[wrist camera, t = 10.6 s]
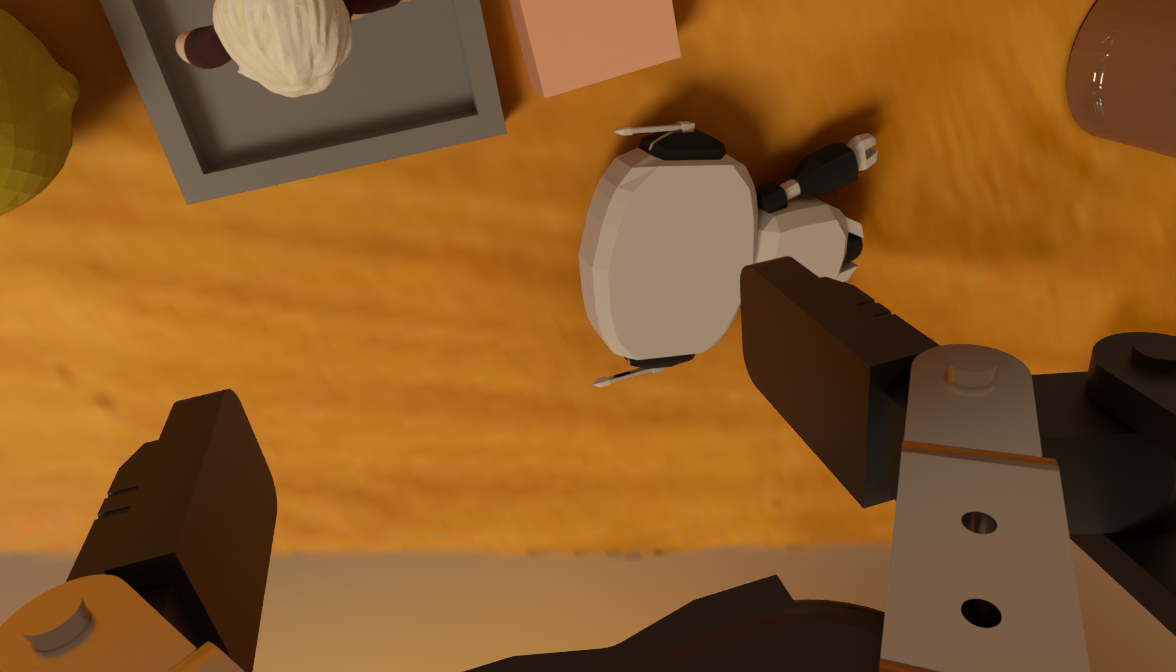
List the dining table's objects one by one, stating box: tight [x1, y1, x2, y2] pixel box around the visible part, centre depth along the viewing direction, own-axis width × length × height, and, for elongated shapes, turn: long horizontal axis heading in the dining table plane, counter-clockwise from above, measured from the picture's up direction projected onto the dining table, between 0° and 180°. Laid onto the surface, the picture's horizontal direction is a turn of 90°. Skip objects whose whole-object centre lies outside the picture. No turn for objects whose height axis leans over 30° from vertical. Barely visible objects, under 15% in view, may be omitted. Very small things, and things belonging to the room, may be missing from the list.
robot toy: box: [578, 121, 878, 387], centre depth 38 cm, size 12×4×15 cm
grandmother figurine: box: [175, 0, 411, 98], centre depth 24 cm, size 8×4×13 cm, turn 117°
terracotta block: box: [508, 0, 681, 98], centre depth 32 cm, size 6×4×3 cm, turn 104°
